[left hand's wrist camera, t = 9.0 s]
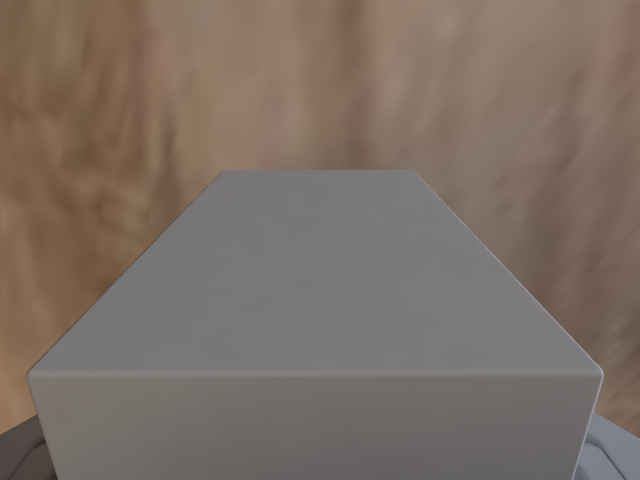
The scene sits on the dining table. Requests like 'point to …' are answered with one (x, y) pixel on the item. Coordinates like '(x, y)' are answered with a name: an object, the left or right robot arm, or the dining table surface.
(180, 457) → the bar
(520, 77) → the dining table surface
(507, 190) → the dining table surface
